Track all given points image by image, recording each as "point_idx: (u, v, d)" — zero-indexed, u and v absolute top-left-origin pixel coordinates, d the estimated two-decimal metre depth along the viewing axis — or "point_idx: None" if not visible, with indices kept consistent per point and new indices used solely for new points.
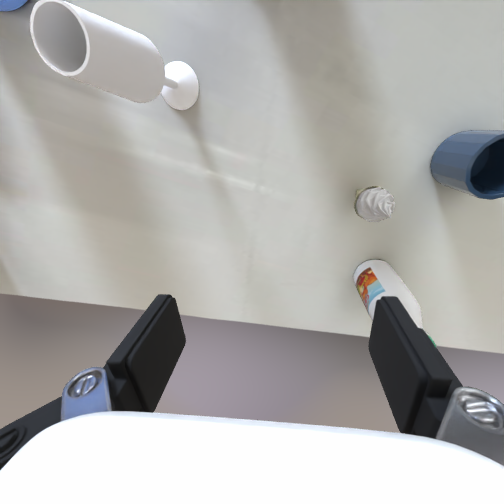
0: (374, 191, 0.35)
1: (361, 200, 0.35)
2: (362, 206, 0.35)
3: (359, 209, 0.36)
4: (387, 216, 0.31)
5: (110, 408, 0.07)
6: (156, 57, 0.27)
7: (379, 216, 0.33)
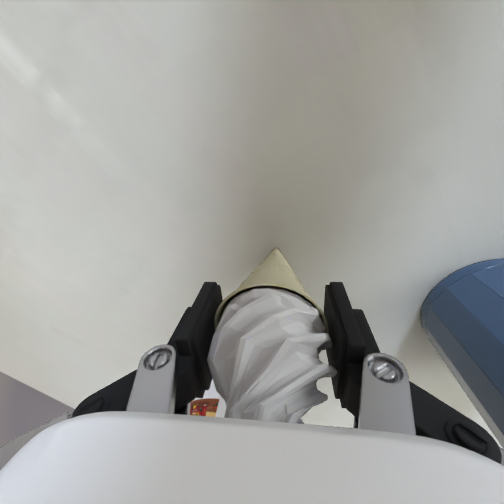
0: (289, 321, 0.09)
1: (232, 323, 0.09)
2: (221, 347, 0.09)
3: (215, 340, 0.10)
4: None
5: (170, 392, 0.07)
6: None
7: None
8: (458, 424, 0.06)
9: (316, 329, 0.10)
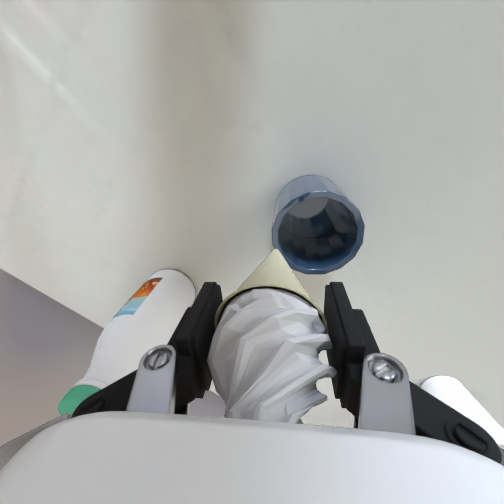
0: (289, 321, 0.09)
1: (232, 324, 0.09)
2: (221, 348, 0.09)
3: (215, 341, 0.10)
4: None
5: (171, 392, 0.07)
6: None
7: None
8: (458, 424, 0.06)
9: (316, 330, 0.10)
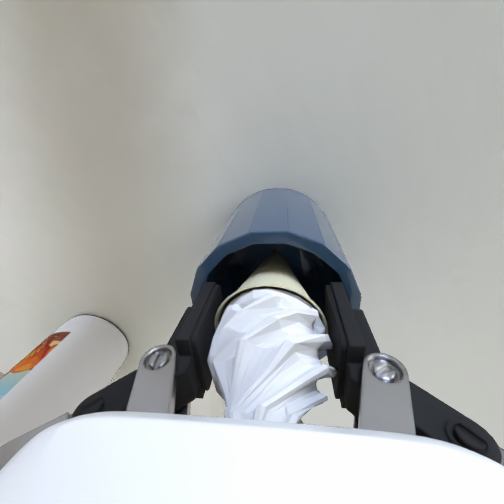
0: (289, 321, 0.09)
1: (232, 324, 0.09)
2: (222, 348, 0.09)
3: (215, 341, 0.10)
4: None
5: (171, 392, 0.07)
6: None
7: None
8: (458, 424, 0.06)
9: (316, 330, 0.10)
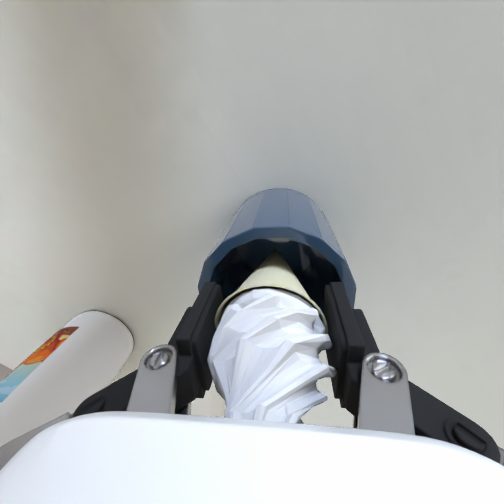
0: (289, 321, 0.09)
1: (232, 324, 0.09)
2: (222, 348, 0.09)
3: (216, 341, 0.10)
4: None
5: (171, 392, 0.07)
6: None
7: None
8: (457, 423, 0.06)
9: (316, 330, 0.10)
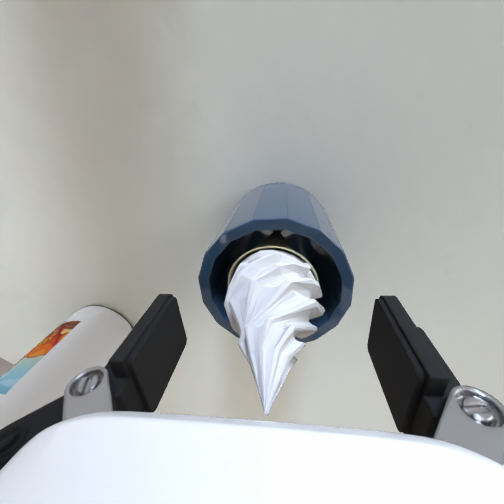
0: (288, 270, 0.11)
1: (244, 273, 0.12)
2: (236, 290, 0.11)
3: (230, 289, 0.12)
4: (262, 399, 0.08)
5: (111, 407, 0.07)
6: None
7: (250, 361, 0.10)
8: None
9: None
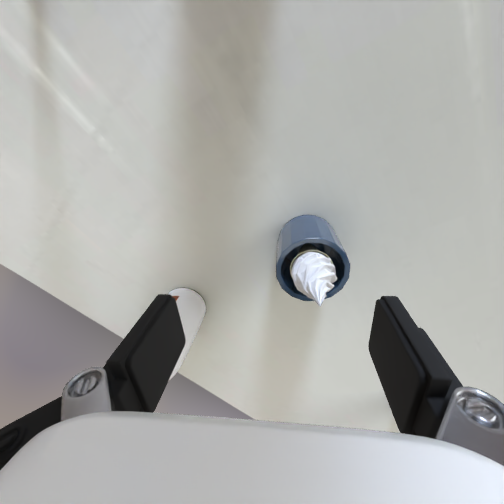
0: (322, 260, 0.27)
1: (303, 261, 0.27)
2: (299, 269, 0.27)
3: (295, 269, 0.28)
4: (318, 302, 0.23)
5: (110, 408, 0.07)
6: None
7: (309, 294, 0.25)
8: None
9: None
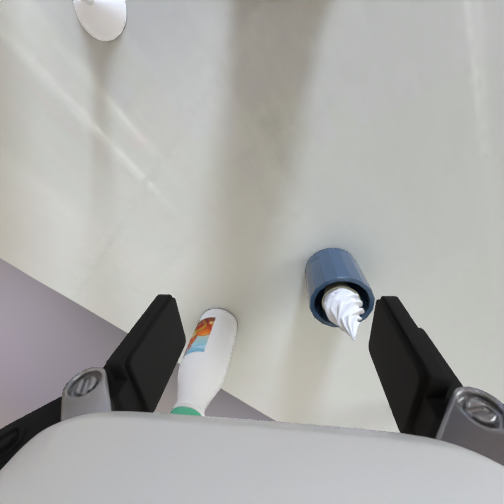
0: (351, 297, 0.31)
1: (335, 298, 0.32)
2: (333, 304, 0.32)
3: (327, 303, 0.32)
4: (352, 337, 0.28)
5: (110, 408, 0.07)
6: None
7: (343, 328, 0.30)
8: None
9: (357, 300, 0.33)
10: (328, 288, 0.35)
